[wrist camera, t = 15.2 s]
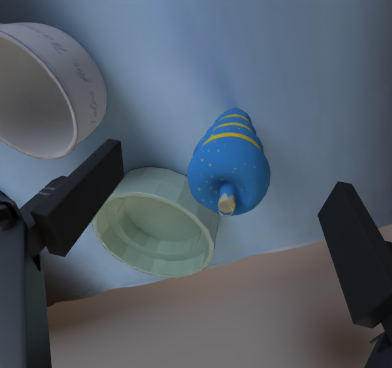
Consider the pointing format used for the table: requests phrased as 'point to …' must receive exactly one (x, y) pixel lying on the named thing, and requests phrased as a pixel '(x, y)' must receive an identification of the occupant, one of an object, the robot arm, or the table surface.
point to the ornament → (229, 166)
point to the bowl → (157, 224)
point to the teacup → (47, 90)
